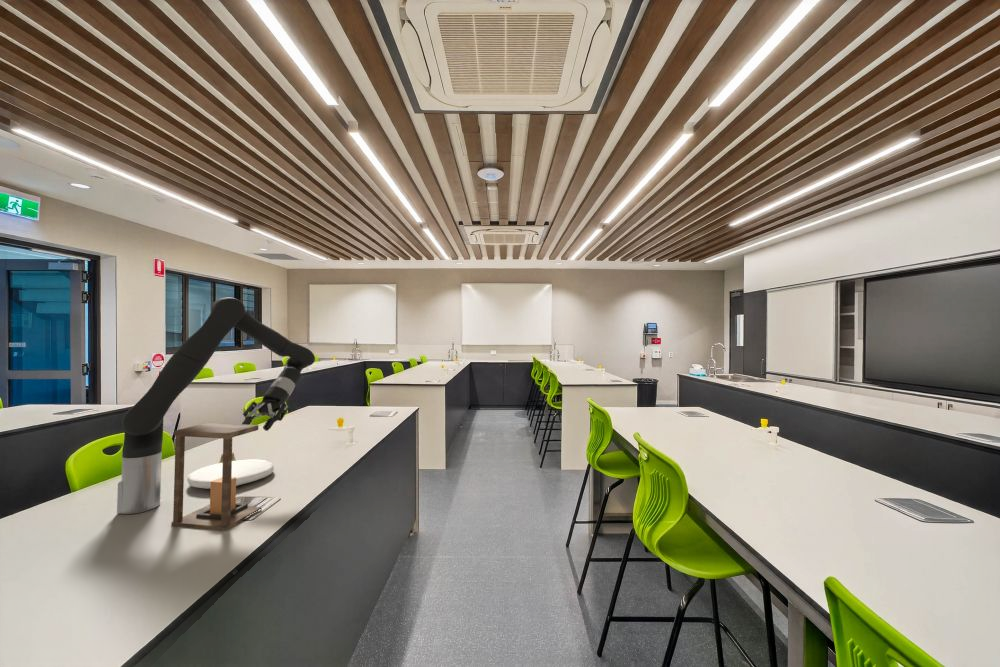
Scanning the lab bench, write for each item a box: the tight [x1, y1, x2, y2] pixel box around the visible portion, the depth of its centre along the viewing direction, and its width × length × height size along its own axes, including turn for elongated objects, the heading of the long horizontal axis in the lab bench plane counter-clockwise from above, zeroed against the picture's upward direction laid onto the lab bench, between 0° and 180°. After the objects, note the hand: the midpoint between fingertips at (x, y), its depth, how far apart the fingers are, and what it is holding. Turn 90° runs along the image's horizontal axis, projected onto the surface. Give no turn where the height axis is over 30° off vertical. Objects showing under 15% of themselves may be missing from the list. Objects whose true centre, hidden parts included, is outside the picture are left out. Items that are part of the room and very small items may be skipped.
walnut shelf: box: [171, 422, 262, 532], centre depth 115 cm, size 13×18×28 cm
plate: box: [186, 458, 275, 490], centre depth 145 cm, size 28×6×27 cm
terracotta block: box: [209, 477, 237, 515], centre depth 116 cm, size 4×4×10 cm
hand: (254, 428), depth 130 cm, fingers open, 8 cm apart
